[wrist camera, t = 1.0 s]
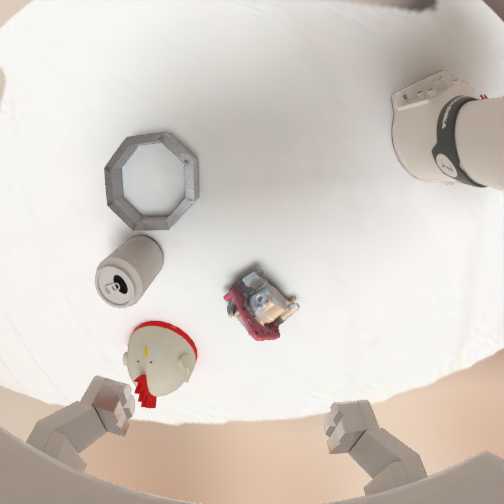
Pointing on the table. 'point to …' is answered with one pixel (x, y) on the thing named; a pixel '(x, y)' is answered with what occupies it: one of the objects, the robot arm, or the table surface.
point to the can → (128, 271)
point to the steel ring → (116, 185)
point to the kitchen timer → (159, 360)
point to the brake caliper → (259, 306)
